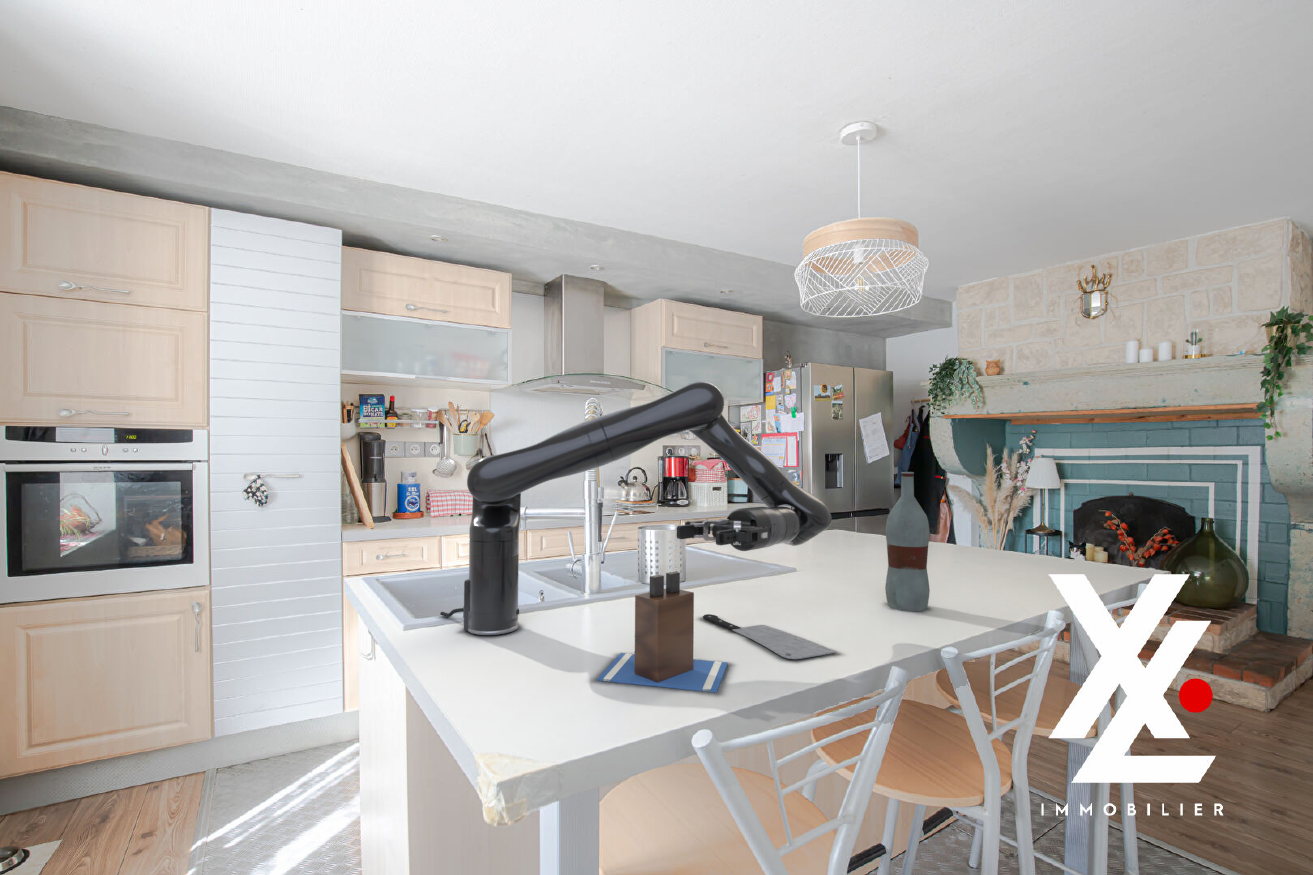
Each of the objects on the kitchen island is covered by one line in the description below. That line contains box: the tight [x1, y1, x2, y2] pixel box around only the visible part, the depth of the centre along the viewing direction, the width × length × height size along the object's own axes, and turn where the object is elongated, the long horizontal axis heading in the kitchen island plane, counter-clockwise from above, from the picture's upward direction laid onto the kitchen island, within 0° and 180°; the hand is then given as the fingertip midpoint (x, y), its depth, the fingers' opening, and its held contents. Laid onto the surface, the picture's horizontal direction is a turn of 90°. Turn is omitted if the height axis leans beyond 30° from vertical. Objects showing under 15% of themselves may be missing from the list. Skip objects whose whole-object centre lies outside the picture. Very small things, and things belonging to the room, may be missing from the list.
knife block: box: [634, 571, 695, 683], centre depth 97 cm, size 5×8×15 cm, turn 135°
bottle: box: [884, 471, 931, 612], centre depth 140 cm, size 9×9×30 cm
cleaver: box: [702, 613, 837, 660], centre depth 118 cm, size 29×1×10 cm
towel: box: [597, 652, 728, 694], centre depth 98 cm, size 18×12×1 cm, turn 76°
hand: (697, 535), depth 103 cm, fingers open, 8 cm apart
